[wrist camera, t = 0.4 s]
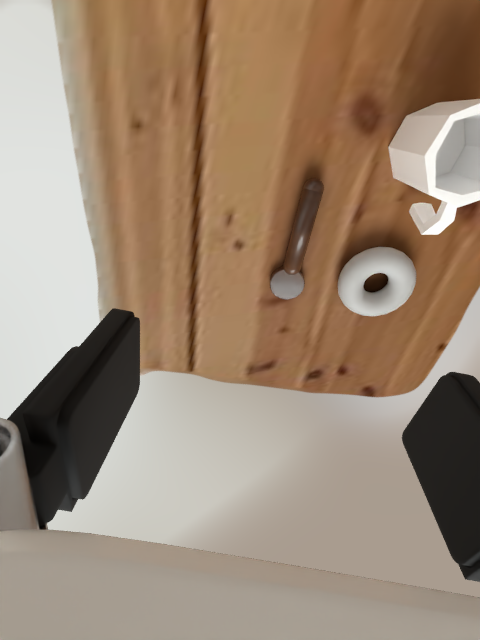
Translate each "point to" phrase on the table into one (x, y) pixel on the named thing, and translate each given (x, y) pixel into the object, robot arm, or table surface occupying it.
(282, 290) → the spoon
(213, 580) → the robot arm
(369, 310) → the donut
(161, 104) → the table surface
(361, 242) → the table surface
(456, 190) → the mug
